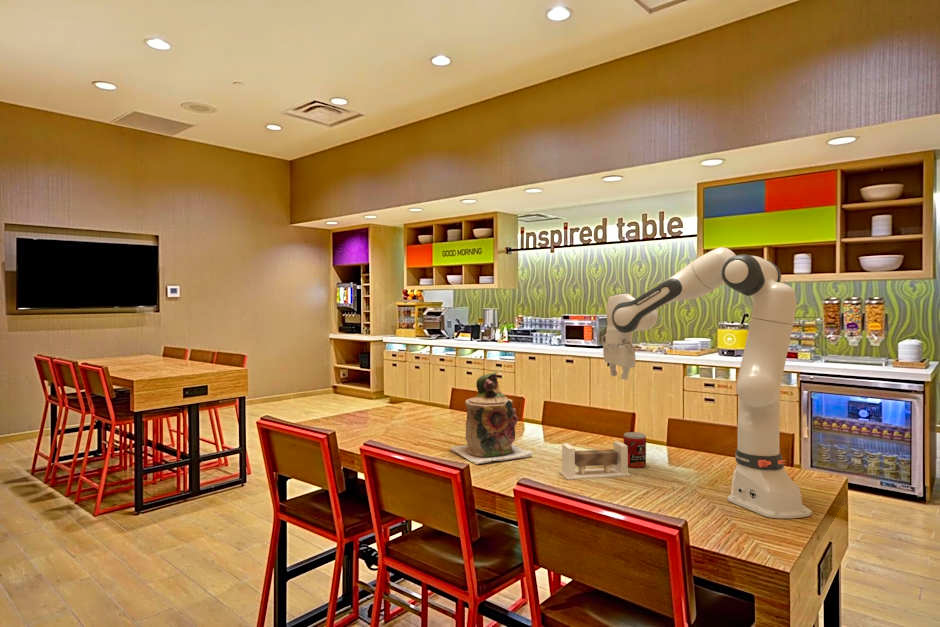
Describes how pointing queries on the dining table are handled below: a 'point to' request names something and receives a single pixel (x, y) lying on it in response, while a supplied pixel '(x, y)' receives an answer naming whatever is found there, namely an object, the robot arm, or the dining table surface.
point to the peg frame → (583, 473)
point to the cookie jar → (490, 425)
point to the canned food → (636, 449)
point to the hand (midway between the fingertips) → (619, 377)
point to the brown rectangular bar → (595, 457)
